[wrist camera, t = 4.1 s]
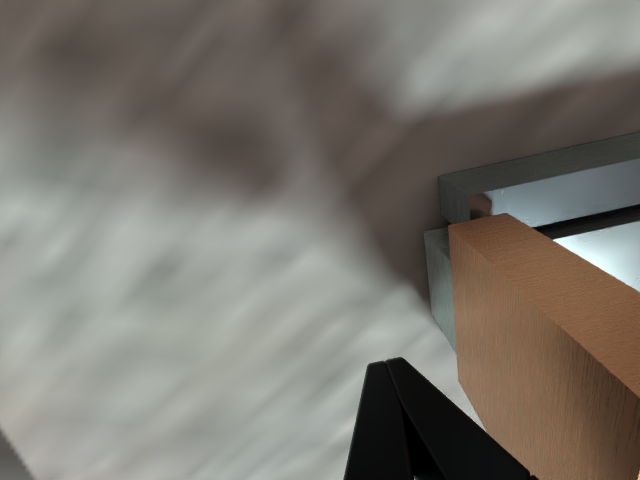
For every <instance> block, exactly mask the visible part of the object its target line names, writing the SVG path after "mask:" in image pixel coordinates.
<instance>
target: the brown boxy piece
mask: <svg viewBox="0 0 640 480" xmlns="http://www.w3.org/2000/svg"><path fill="white" fill-rule="evenodd" d="M424 241H425V252H426V262H427V272H428V282H429V293H430V303H431V313H432V315H433V317H434V318H435V320H436V322H437V323H438V325H439V327H440V328H441V330H442V332H443V333H444V335H445V336H446V338H447V340H448V341H449V343H450V345H451V346H452V348H453V350H454V351H455V353H456V355H457V367H458V381H459V383H460V385H461V387H462V388H463V390H464V392H465V394H466V395H467V397H468V399H469V401H470V403H471V404H472V406H473V408H474V410H475V412H476V413H477V415H478V417H479V419H480V420H481V422H482V424H483V426H484V428H485V429H486V431H487V433H488V434H489V435H490V436H491V437H492V438H493V439H494V440H495V441H497V442H498V443H499V444H500V445H501V446H502V447H503V448H504V449H505V450H507V451H508V452H509V453H510V454H511V455H512V456H513V457H514V458H516V459H517V460H518V461H519V462H520V463H521V464H522V465H523V466H524V467H526V468H527V469H528V470H529V471H530V476H531V475H535V476H536V477H537V478H538V479H539V480H640V204H638V205H633V206H628V207H624V208H619V209H615V210H610V211H605V212H601V213H596V214H592V215H587V216H582V217H578V218H573V219H568V220H564V221H559V222H555V223H550V224H545V225H541V226H536V227H532V228H531V227H530V226H528V225H526V224H525V223H523V222H521V221H520V220H518V219H516V218H515V217H513V216H511V215H510V214H508V213H502V214H497V215H493V216H488V217H484V218H479V219H474V220H470V221H465V222H461V223H456V224H452V225H448V227H444V228H439V229H435V230H430V231H425V232H424Z"/></svg>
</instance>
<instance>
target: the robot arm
mask: <svg viewBox="0 0 640 480" xmlns="http://www.w3.org/2000/svg"><path fill="white" fill-rule="evenodd" d="M414 478H415V480H539V479H538V478H537V477H536V476H535V475H531V476H530V471H529V470H528V469H527V468H526V467H524V466H523V465H522V464H521V463H520V462H519V461H518V460H517V459H516V458H514V457H513V456H512V455H511V454H510V453H509V452H508V451H507V450H505V449H504V448H503V447H502V446H501V445H500V444H499V443H498V442H497V441H495V440H494V439H493V438H492V437H491V436H490V435H489V434H488V433H486V432H485V431H484V430H483V429H482V428H481V427H480V426H479V425H478V424H476V423H475V422H474V421H473V420H472V419H471V418H470V417H469V416H467V415H466V414H465V413H464V412H463V411H462V410H461V409H460V408H459V407H457V406H456V405H455V404H454V403H453V402H452V401H451V400H450V399H448V398H447V397H446V396H445V395H444V394H443V393H442V392H441V391H440V390H438V389H437V388H436V387H435V386H434V385H433V384H432V383H431V382H429V381H428V380H427V379H426V378H425V377H424V376H423V375H422V374H421V373H419V372H418V371H417V370H416V369H415V368H414V367H413V366H412V365H410V364H409V363H408V362H407V361H406V360H405V359H404V358H402V357H398V358H393V359H388V360H386V361H379V362H374V363H370V364H368V366H367V370H366V375H365V379H364V384H363V389H362V394H361V398H360V403H359V408H358V413H357V417H356V422H355V427H354V432H353V437H352V441H351V446H350V451H349V456H348V460H347V465H346V470H345V475H344V480H414Z"/></svg>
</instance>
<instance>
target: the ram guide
mask: <svg viewBox="0 0 640 480" xmlns="http://www.w3.org/2000/svg"><path fill="white" fill-rule="evenodd" d="M438 181H439V195H440V208H441V215H442V216H443V217H444V218H445V219H447V220H448V221H449V222H450V223H451V224H456V223H461V222H465V221H470V220H474V219H479V218H484V217H488V216H493V215H497V214H502V213H508V214H510V215H511V216H513V217H515V218H516V219H518V220H520V221H521V222H523V223H525V224H526V225H528V226H530V227H531V228H532V227H536V226H541V225H545V224H550V223H555V222H559V221H564V220H568V219H573V218H578V217H582V216H587V215H592V214H596V213H601V212H605V211H610V210H615V209H619V208H624V207H628V206H633V205H638V204H640V132H637V133H632V134H628V135H623V136H619V137H614V138H609V139H605V140H600V141H596V142H591V143H587V144H582V145H578V146H573V147H569V148H564V149H560V150H555V151H551V152H546V153H541V154H537V155H532V156H528V157H523V158H519V159H514V160H510V161H505V162H501V163H496V164H492V165H487V166H483V167H478V168H473V169H469V170H464V171H460V172H455V173H451V174H446V175H442V176H438Z"/></svg>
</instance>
